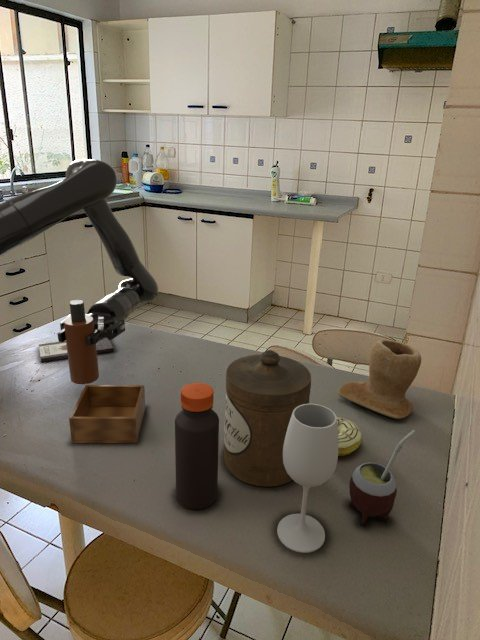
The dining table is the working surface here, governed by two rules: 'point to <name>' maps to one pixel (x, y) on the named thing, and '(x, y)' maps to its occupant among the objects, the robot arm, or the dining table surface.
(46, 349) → the chocolate bar
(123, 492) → the dining table surface
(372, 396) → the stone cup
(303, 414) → the wineglass
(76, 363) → the sauce bottle
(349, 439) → the decorated donut
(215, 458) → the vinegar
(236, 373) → the wooden container
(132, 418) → the wooden box
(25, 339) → the dining table surface
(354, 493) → the mate gourd
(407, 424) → the dining table surface
